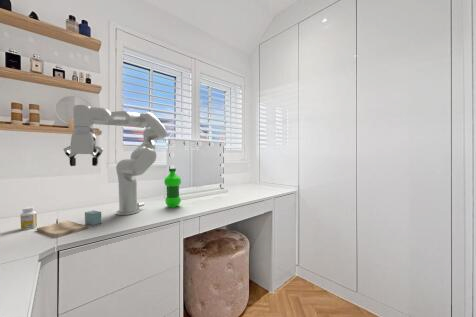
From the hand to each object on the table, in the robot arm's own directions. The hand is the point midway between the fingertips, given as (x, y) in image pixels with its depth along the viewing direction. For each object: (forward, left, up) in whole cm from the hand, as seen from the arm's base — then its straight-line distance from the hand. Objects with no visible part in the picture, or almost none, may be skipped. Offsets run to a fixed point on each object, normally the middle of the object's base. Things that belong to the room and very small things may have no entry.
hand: (83, 165), depth 103 cm
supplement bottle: (+15, -20, -29) cm, 38 cm away
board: (+9, -3, -29) cm, 30 cm away
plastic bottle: (-45, +13, -29) cm, 56 cm away
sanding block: (-2, +2, -29) cm, 29 cm away
